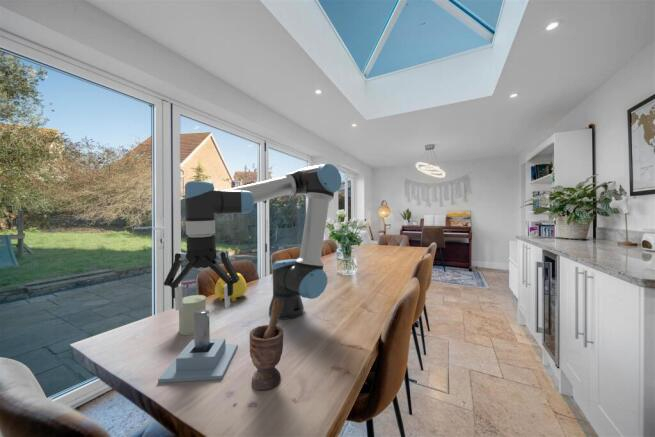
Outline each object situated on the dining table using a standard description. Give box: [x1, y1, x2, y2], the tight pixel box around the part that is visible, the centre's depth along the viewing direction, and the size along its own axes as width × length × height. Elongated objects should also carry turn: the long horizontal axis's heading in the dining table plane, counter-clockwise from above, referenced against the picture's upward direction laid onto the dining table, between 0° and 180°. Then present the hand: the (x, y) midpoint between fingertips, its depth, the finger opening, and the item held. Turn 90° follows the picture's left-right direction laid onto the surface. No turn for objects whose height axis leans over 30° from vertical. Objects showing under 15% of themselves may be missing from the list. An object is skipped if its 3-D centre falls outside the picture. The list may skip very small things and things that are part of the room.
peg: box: [193, 309, 211, 353], centre depth 74 cm, size 4×4×14 cm
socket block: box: [157, 337, 239, 384], centre depth 74 cm, size 16×16×4 cm
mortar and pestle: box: [249, 298, 284, 391], centre depth 67 cm, size 12×9×20 cm
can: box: [178, 294, 207, 336], centre depth 94 cm, size 9×9×12 cm
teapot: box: [214, 272, 248, 302], centre depth 127 cm, size 20×16×14 cm
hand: (203, 307), depth 74 cm, fingers open, 13 cm apart
